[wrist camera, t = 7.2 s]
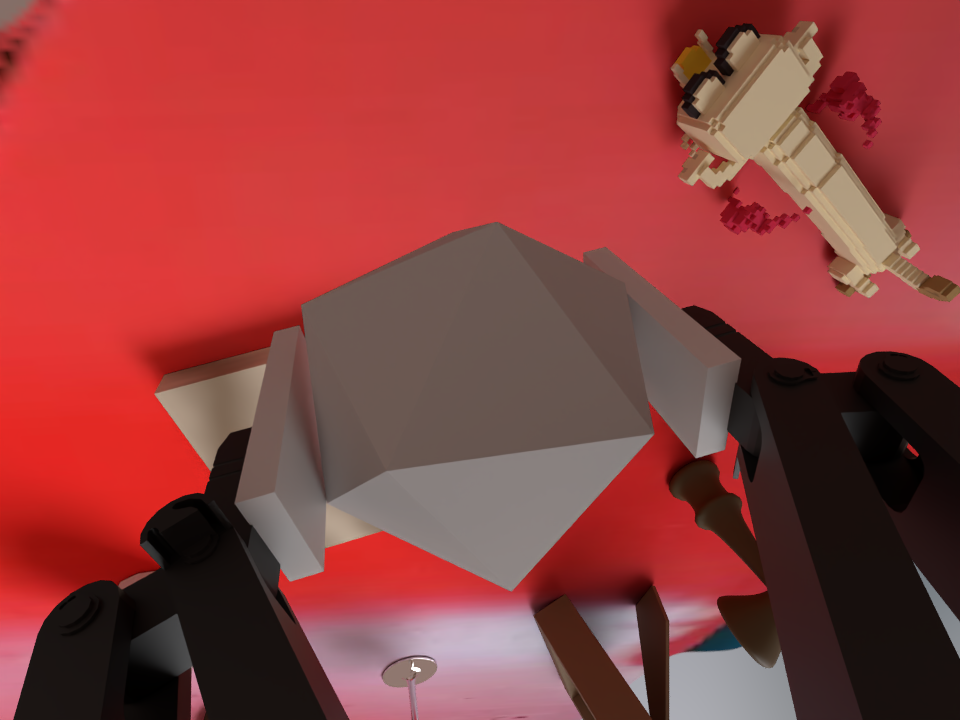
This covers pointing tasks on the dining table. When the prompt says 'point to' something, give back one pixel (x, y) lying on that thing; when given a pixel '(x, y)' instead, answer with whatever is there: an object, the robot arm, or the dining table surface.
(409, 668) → the wineglass
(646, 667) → the photo frame
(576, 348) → the die
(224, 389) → the birch board
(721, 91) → the cat figure
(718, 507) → the kendama
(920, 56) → the dining table surface
